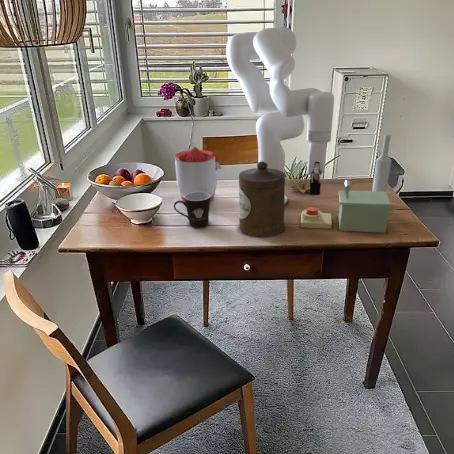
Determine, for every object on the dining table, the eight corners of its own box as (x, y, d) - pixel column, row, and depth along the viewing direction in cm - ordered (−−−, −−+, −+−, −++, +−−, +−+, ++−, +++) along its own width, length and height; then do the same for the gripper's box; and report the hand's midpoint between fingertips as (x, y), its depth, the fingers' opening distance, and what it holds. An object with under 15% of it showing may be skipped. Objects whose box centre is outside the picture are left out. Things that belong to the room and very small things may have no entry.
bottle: (382, 202, 175) (394, 133, 162) (385, 208, 170) (397, 136, 157) (368, 202, 175) (378, 133, 162) (370, 207, 171) (381, 136, 158)
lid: (339, 204, 150) (341, 188, 147) (338, 192, 160) (340, 176, 157) (390, 206, 148) (393, 190, 145) (385, 193, 158) (388, 178, 155)
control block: (300, 227, 158) (301, 217, 156) (301, 216, 165) (302, 207, 163) (331, 228, 156) (332, 218, 154) (330, 218, 164) (331, 208, 162)
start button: (306, 215, 158) (306, 210, 157) (306, 211, 161) (307, 206, 160) (317, 216, 158) (317, 211, 157) (317, 212, 161) (317, 207, 160)
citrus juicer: (225, 205, 176) (224, 151, 165) (178, 208, 174) (174, 154, 163) (219, 191, 189) (218, 140, 179) (176, 194, 187) (172, 142, 177)
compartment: (339, 230, 155) (342, 205, 150) (338, 217, 164) (341, 192, 160) (385, 232, 153) (390, 206, 148) (381, 218, 162) (385, 194, 158)
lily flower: (319, 185, 192) (320, 174, 190) (317, 195, 182) (318, 184, 180) (289, 184, 195) (290, 173, 192) (286, 194, 185) (287, 182, 182)
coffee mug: (215, 220, 164) (213, 193, 159) (206, 230, 157) (204, 202, 152) (184, 217, 167) (182, 190, 162) (174, 226, 160) (171, 198, 155)
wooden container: (240, 219, 165) (239, 155, 153) (282, 219, 164) (285, 155, 152) (238, 237, 152) (237, 169, 140) (284, 237, 151) (287, 169, 139)
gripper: (306, 129, 153) (303, 181, 163) (305, 142, 139) (302, 198, 148) (330, 129, 152) (325, 181, 161) (331, 142, 138) (326, 199, 147)
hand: (314, 189), depth 155 cm, fingers open, 9 cm apart
